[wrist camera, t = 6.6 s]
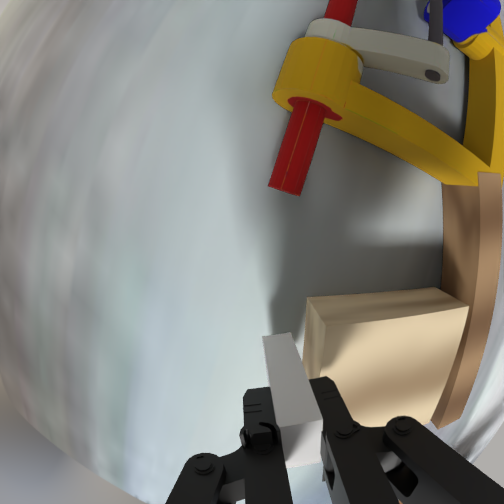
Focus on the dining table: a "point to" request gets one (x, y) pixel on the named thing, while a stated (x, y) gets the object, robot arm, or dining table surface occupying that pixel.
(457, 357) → the board
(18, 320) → the dining table surface
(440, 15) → the mechanical clamp
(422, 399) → the block
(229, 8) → the dining table surface
